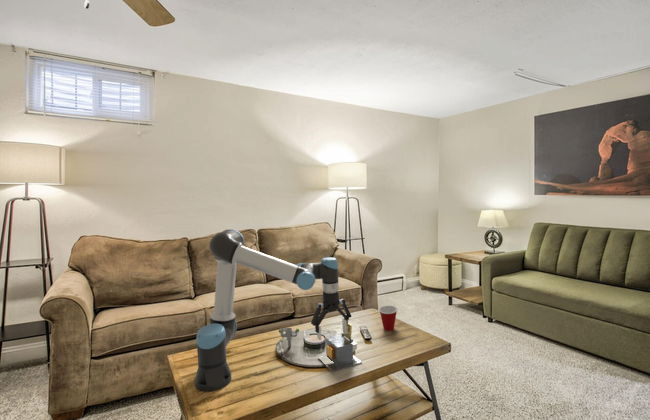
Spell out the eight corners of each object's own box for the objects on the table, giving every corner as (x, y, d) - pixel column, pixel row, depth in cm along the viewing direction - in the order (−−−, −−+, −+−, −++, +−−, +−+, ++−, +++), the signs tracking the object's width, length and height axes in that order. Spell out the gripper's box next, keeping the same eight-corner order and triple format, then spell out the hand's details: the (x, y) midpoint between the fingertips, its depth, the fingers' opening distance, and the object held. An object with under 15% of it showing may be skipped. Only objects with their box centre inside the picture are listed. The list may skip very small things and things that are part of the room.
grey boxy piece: (331, 372, 153) (330, 348, 152) (318, 358, 165) (317, 336, 164) (361, 363, 160) (361, 339, 159) (346, 350, 172) (346, 329, 171)
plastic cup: (375, 328, 198) (374, 308, 198) (388, 323, 205) (388, 304, 204) (388, 334, 190) (387, 313, 189) (401, 329, 196) (401, 309, 195)
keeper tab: (351, 339, 161) (349, 340, 161) (344, 335, 167) (343, 335, 166) (351, 325, 161) (350, 325, 161) (345, 320, 166) (344, 321, 166)
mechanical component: (299, 348, 176) (298, 329, 175) (279, 349, 176) (278, 330, 176) (299, 346, 179) (298, 327, 178) (280, 346, 179) (279, 327, 179)
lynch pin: (331, 359, 158) (331, 349, 157) (327, 355, 162) (326, 345, 162) (358, 352, 164) (357, 342, 164) (352, 348, 168) (352, 338, 168)
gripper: (309, 297, 150) (311, 345, 151) (357, 288, 161) (359, 332, 162) (302, 293, 157) (304, 338, 158) (349, 285, 167) (351, 327, 169)
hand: (332, 335), depth 160 cm, fingers open, 13 cm apart
